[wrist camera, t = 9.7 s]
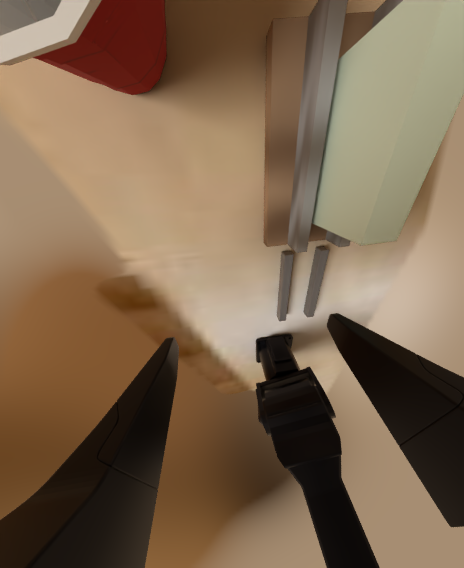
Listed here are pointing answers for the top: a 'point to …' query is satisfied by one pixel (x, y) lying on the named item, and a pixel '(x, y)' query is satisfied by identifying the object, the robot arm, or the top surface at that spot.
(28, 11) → the plastic cup
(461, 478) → the robot arm
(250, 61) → the top surface
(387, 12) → the track plinth
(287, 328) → the top surface
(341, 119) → the door panel
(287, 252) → the grey upright bracket
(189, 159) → the top surface
